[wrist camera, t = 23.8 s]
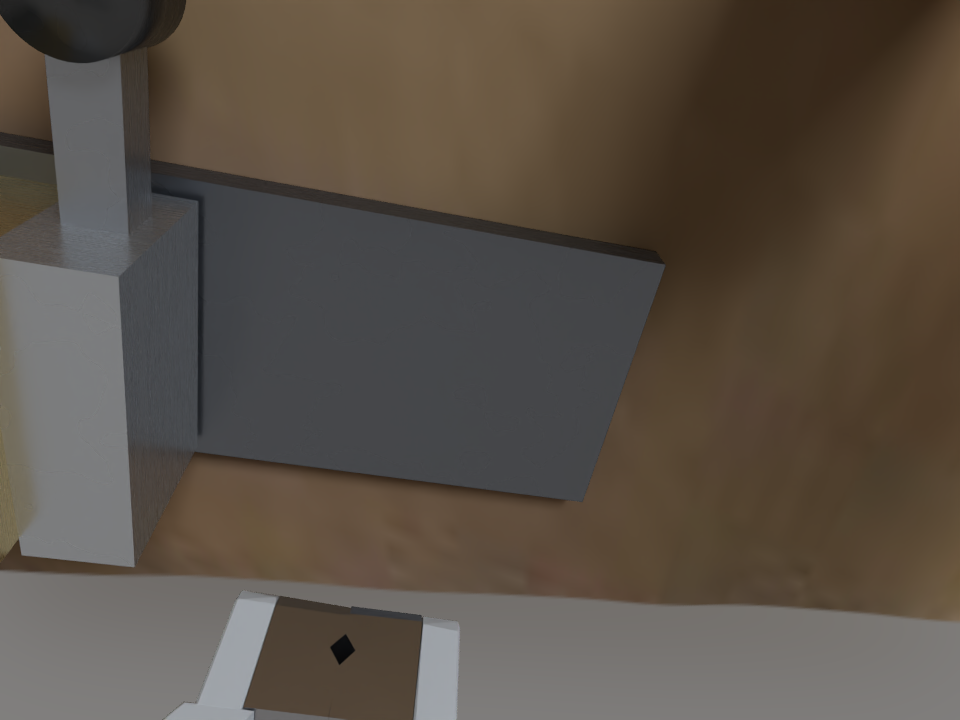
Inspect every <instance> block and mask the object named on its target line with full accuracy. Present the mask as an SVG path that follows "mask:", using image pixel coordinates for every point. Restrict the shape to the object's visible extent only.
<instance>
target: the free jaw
mask: <svg viewBox="0 0 960 720" xmlns="http://www.w3.org/2000/svg"><path fill="white" fill-rule="evenodd" d="M185 5H186V0H0V14H1V16H2V17H3V19H4V20H5V21H6V23H7V24H8V25H9V26H10V27H11V29H12V30H13V31H14V32H15V33H16V34H17V35H18V36H19V37H21V38H22V39H23V40H24V41H25V42H27V43H28V44H29V45H31V46H32V47H34V48H35V49H37V50H38V51H40V52H42V53H44V54H45V64H46V75H47V85H48V96H49V106H50V117H51V127H52V137H53V148H54V158H55V169H56V179H57V190H58V200H59V201H58V202H57V203H55V204H54V205H52V206H50V207H49V208H47V209H45V210H44V211H42V212H40V213H39V214H37V215H35V216H34V217H32V218H31V219H29V220H27V221H26V222H24V223H22V224H21V225H19V226H17V227H16V228H14V229H12V230H11V231H9V232H8V233H6V234H4V235H3V236H1V237H0V425H1V431H2V437H3V443H4V450H5V456H6V462H7V468H8V474H9V480H10V487H11V493H12V499H13V505H14V511H15V517H16V523H17V530H18V536H19V542H20V548H21V554H22V555H25V556H34V557H43V558H53V559H62V560H71V561H81V562H90V563H99V564H109V565H118V566H127V567H135V566H136V564H137V562H138V560H139V558H140V556H141V554H142V552H143V550H144V548H145V546H146V544H147V542H148V541H149V539H150V537H151V535H152V533H153V531H154V529H155V527H156V525H157V523H158V521H159V519H160V517H161V516H162V514H163V512H164V510H165V508H166V506H167V504H168V502H169V500H170V498H171V496H172V494H173V492H174V490H175V489H176V487H177V485H178V483H179V481H180V479H181V477H182V475H183V473H184V471H185V469H186V467H187V465H188V463H189V462H190V460H191V458H192V456H193V454H194V452H195V450H196V448H197V424H198V201H195V200H189V199H184V198H178V197H172V196H167V195H161V194H155V193H151V162H150V128H149V94H148V60H147V48H148V47H151V46H155V45H157V44H159V43H161V42H163V41H164V40H166V39H167V38H168V37H169V36H170V35H171V34H172V33H173V32H174V31H175V30H176V28H177V27H178V25H179V23H180V21H181V19H182V17H183V14H184V10H185Z"/></svg>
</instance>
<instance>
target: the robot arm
mask: <svg viewBox="0 0 960 720" xmlns="http://www.w3.org/2000/svg"><path fill="white" fill-rule="evenodd" d="M459 645H460V627H459V624H458V621H453V620H445V619H438V618H430V617H424V616H423V618H422V616H421V615H416V614H408V613H400V612H392V611H383V610H376V609H367V608H359V607H351V608H348V607H342V606H337V605H331V604H325V603H319V602H313V601H307V600H301V599H295V598H290V597H283V596H277V595H270V594H264V593H257V592H251V591H244V590H242V591H241V593H240V594H239V596H238V597H237V599H236V601H235V603H234V605H233V608H232V610H231V613H230V615H229V618H228V621H227V623H226V626H225V629H224V631H223V634H222V636H221V639H220V641H219V644H218V646H217V649H216V652H215V654H214V657H213V659H212V662H211V665H210V667H209V670H208V673H207V675H206V678H205V680H204V683H203V685H202V688H201V690H200V693H199V696H198V698H197V701H196V703H191V702H183V703H182V704H181V705H180V706H178V707H177V708H176V709H175V710H173V711H172V712H171V713H170V714H169V715H167V716H166V717H165V718H164V719H163V720H457V700H458V672H459Z"/></svg>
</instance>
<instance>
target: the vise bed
mask: <svg viewBox="0 0 960 720" xmlns="http://www.w3.org/2000/svg"><path fill="white" fill-rule="evenodd" d="M150 162H151V193H155V194H161V195H167V196H172V197H178V198H184V199H189V200H195V201H198V424H197V448H196V450H195V452H201V453H209V454H217V455H224V456H232V457H240V458H247V459H255V460H263V461H271V462H278V463H286V464H294V465H301V466H309V467H317V468H325V469H332V470H340V471H348V472H355V473H363V474H371V475H378V476H386V477H394V478H402V479H409V480H417V481H425V482H432V483H440V484H448V485H456V486H463V487H471V488H479V489H486V490H494V491H502V492H510V493H517V494H525V495H533V496H540V497H548V498H556V499H564V500H571V501H579V502H583V499H584V496H585V493H586V490H587V487H588V485H589V482H590V479H591V476H592V473H593V470H594V467H595V465H596V462H597V459H598V456H599V453H600V450H601V448H602V445H603V442H604V439H605V436H606V433H607V431H608V428H609V425H610V422H611V419H612V416H613V413H614V411H615V408H616V405H617V402H618V399H619V396H620V394H621V391H622V388H623V385H624V382H625V379H626V376H627V374H628V371H629V368H630V365H631V362H632V359H633V357H634V354H635V351H636V348H637V345H638V342H639V339H640V337H641V334H642V331H643V328H644V325H645V322H646V320H647V317H648V314H649V311H650V308H651V305H652V303H653V300H654V297H655V294H656V291H657V288H658V285H659V283H660V280H661V277H662V274H663V271H664V268H665V266H666V265H665V263H664V262H663V261H662V259H661V258H660V256H659V255H658V254H657V252H656V251H650V250H645V249H639V248H634V247H628V246H623V245H617V244H612V243H606V242H601V241H595V240H590V239H584V238H579V237H573V236H568V235H562V234H557V233H551V232H546V231H540V230H535V229H529V228H524V227H518V226H513V225H507V224H502V223H496V222H491V221H485V220H480V219H474V218H469V217H463V216H458V215H452V214H447V213H441V212H436V211H430V210H425V209H419V208H414V207H408V206H403V205H397V204H392V203H386V202H381V201H375V200H370V199H364V198H359V197H353V196H348V195H342V194H337V193H331V192H326V191H320V190H315V189H309V188H304V187H298V186H293V185H287V184H282V183H276V182H271V181H265V180H260V179H254V178H249V177H243V176H238V175H232V174H227V173H221V172H216V171H210V170H205V169H199V168H194V167H188V166H183V165H177V164H172V163H166V162H161V161H155V160H150ZM0 175H4V176H10V177H16V178H22V179H27V180H33V181H39V182H44V183H50V184H56V185H57V179H56V169H55V158H54V148H53V142H51V141H46V140H40V139H35V138H29V137H24V136H18V135H13V134H7V133H2V132H0Z"/></svg>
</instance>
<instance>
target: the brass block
mask: <svg viewBox="0 0 960 720" xmlns="http://www.w3.org/2000/svg"><path fill="white" fill-rule="evenodd" d="M58 201H59V200H58V190H57V185H56V184H50V183H44V182H39V181H33V180H27V179H22V178H16V177H10V176H4V175H0V237H1V236H3V235H4V234H6V233H8V232H9V231H11V230H12V229H14V228H16V227H17V226H19V225H21V224H22V223H24V222H26V221H27V220H29V219H31V218H32V217H34V216H35V215H37V214H39V213H40V212H42V211H44V210H45V209H47V208H49V207H50V206H52V205H54V204H55V203H57V202H58ZM18 539H19V536H18V530H17V523H16V517H15V511H14V505H13V499H12V493H11V487H10V480H9V474H8V468H7V462H6V456H5V450H4V443H3V437H2V431H1V425H0V563H1V562H2V560H3V559H4V558H5V556H6V555H7V554H8V552H9V551H10V550H11V548H12V547H13V546H14V544H15V543H16V542H17V540H18Z"/></svg>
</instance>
